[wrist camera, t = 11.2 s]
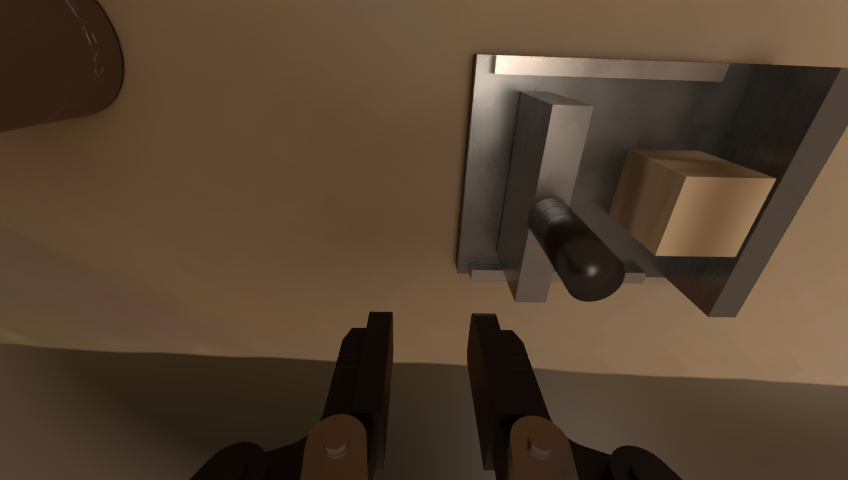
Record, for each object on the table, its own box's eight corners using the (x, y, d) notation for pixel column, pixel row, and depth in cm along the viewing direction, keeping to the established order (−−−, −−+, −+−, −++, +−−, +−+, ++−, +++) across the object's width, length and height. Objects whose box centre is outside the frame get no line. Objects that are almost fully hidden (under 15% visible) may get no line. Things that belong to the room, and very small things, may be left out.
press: (455, 263, 30) (464, 312, 25) (473, 54, 23) (492, 55, 17) (682, 267, 31) (742, 317, 25) (774, 64, 23) (889, 69, 18)
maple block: (608, 215, 27) (655, 255, 21) (628, 148, 24) (686, 176, 19) (673, 216, 27) (735, 257, 22) (699, 150, 24) (776, 178, 19)
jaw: (494, 254, 28) (540, 378, 17) (518, 91, 22) (607, 129, 12) (524, 255, 28) (587, 378, 18) (555, 92, 22) (678, 131, 12)
